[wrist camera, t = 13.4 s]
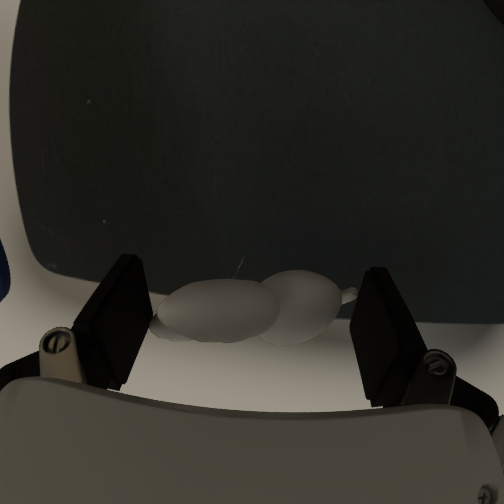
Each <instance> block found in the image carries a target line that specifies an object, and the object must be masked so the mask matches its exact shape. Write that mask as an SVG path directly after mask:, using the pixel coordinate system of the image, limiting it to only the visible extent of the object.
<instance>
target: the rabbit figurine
mask: <svg viewBox="0 0 504 504" xmlns="http://www.w3.org/2000/svg"><path fill="white" fill-rule="evenodd" d="M241 263H242V262H241ZM240 265H241V264H240ZM239 267H240V266H239ZM238 269H239V268H238ZM237 271H238V270H237ZM236 273H237V272H236ZM235 275H236V274H235ZM234 277H235V276H234ZM358 294H359V293H358V290H357V289H356V288H354V287H350V288H347V289H344V290H342V291H340V289H339V288H338V286H337V285H336V284H335V283H334V282H332V281H331V280H329V279H328V278H326V277H324V276H322V275H320V274H317V273H315V272H311V271H306V270H290V271H285V272H280V273H277V274H274V275H272V276H270V277H268V278H267V279H266V280H264V281H263V282H261V283H258V282H256V281H251V280H236V279H234V278H233V279H214V280H206V281H199V282H193V283H190V284H188V285H186V286H183V287H182V288H180V289H178V290H176V291H174V292H173V293H172V294H170V295H169V296H168V297H167V298H165V299H164V300H163V301H162V302H161V303H160V306H159V308H158V309H157V314H155V315H154V316H153V317H152V319H151V320H150V322H149V329H150V331H151V332H152V333H153V334H154V335H156V336H157V337H159V338H163V339H168V340H170V341H189V340H196V341H199V342H222V343H232V342H238V341H242V340H246V339H247V338H249V337H253V336H256V335H258V336H260V337H261V338H262V339H263V340H265V341H267V342H269V343H271V344H274V345H280V346H291V345H296V344H300V343H302V342H305V341H308V340H310V339H312V338H313V337H315V336H317V335H319V334H320V333H321V332H322V331H324V330H325V329H326V328H327V327H328V326H329V324H331V322H332V321H333V320H334V319H335V318H336V316H337V314H338V313H339V310H340V308H341V306H342V304H345V303H347V302H350V301H353V300H355V299H356V298H357V296H358Z"/></svg>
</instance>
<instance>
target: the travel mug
mask: <svg viewBox="0 0 504 504" xmlns="http://www.w3.org/2000/svg"><path fill="white" fill-rule="evenodd" d="M484 1H485V2H486V4H487V5H488V7H489V8H490V9H491V11H492V12H493V13H494V14H495V15H496V17H497V18H498V19H499V20H500V21H501V22H502V23H503V24H504V0H484Z"/></svg>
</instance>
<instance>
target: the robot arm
mask: <svg viewBox="0 0 504 504" xmlns="http://www.w3.org/2000/svg"><path fill="white" fill-rule="evenodd" d="M152 317H153V311H152V306H151V302H150V297H149V293H148V288H147V283H146V278H145V274H144V269H143V263H142V260H141V259H138V257H137V255H133V254H122V255H121V256H120V257H119V259H118V260H117V261H116V263H115V264H114V265H113V267H112V268H111V269H110V271H109V272H108V273H107V275H106V276H105V277H104V279H103V280H102V282H101V283H100V284H99V286H98V287H97V289H96V290H95V291H94V293H93V294H92V296H91V297H90V299H89V300H88V301H87V303H86V304H85V306H84V307H83V309H82V311H81V312H80V313H79V315H78V316H77V318H76V319H75V321H74V323H73V324H74V325H73V327H72V328H71V329H69V328H67V327H56V328H53V329H51V330H49V331H48V332H47V333H45V335H44V336H43V337H42V339H41V341H40V344H39V351H37V352H34V353H32V354H30V355H28V356H25V357H23V358H21V359H18V360H16V361H14V362H12V363H9V364H7V365H5V366H4V367H2V368H1V369H0V504H504V415H503V414H502V415H501V416H499V410H498V406H497V403H496V402H495V400H494V399H493V398H492V397H491V396H489V395H488V394H486V393H484V392H483V391H481V390H479V389H478V388H476V387H474V386H473V385H471V384H469V383H468V382H466V381H464V380H462V379H461V378H459V377H457V376H456V371H457V368H456V364H455V362H454V360H453V359H452V357H450V355H448V354H447V353H446V352H444V351H442V350H438V349H430V350H427V348H426V345H425V344H424V341H423V339H422V336H421V334H420V332H419V330H418V328H417V326H416V324H415V322H414V320H413V318H412V315H411V313H410V311H409V309H408V307H407V305H406V304H405V302H404V300H403V299H402V297H401V295H400V293H399V291H398V289H397V287H396V285H395V283H394V281H393V280H392V278H391V276H390V274H389V272H388V270H387V269H386V268H384V267H371V268H370V270H369V271H366V272H365V275H364V278H363V282H362V285H361V289H360V292H359V295H358V299H357V302H356V305H355V309H354V312H353V315H352V318H351V321H350V334H351V338H352V342H353V345H354V349H355V353H356V358H357V362H358V365H359V370H360V374H361V379H362V383H363V387H364V392H365V396H366V399H367V400H370V402H371V407H379V406H383V408H377V409H366V410H354V411H353V410H352V411H336V412H308V413H307V412H303V413H301V412H298V413H297V412H296V413H294V412H293V413H292V412H291V413H290V412H257V411H239V410H227V409H216V408H207V407H198V406H191V405H184V404H177V403H170V402H164V401H158V400H152V399H147V398H142V397H137V396H132V395H128V394H123V393H119V392H114V391H110V390H107V389H112V390H117V391H119V390H120V388H121V385H122V384H125V383H126V382H127V380H128V377H129V374H130V372H131V369H132V367H133V364H134V362H135V359H136V357H137V354H138V352H139V350H140V347H141V345H142V342H143V340H144V338H145V335H146V333H147V330H148V328H149V322H150V320H151V319H152Z"/></svg>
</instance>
